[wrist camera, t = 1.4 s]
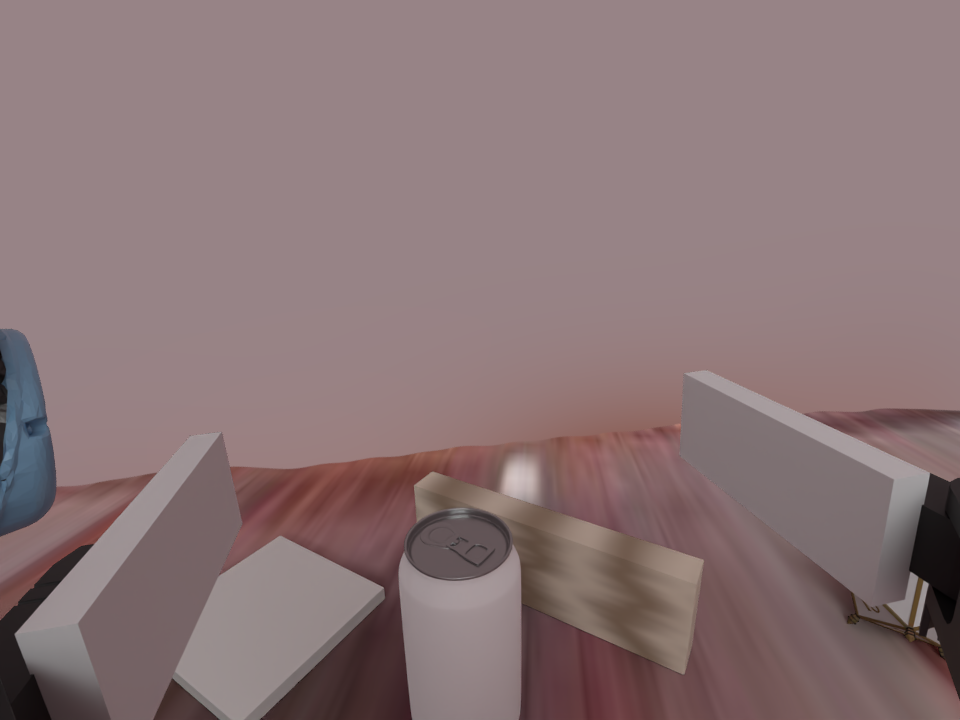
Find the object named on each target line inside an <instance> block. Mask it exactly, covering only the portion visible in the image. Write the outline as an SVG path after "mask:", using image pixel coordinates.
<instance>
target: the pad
mask: <svg viewBox="0 0 960 720" xmlns="http://www.w3.org/2000/svg"><path fill="white" fill-rule="evenodd" d="M384 599H385V593H384V587H382V586H380V585H378V584H376V583H374V582H372V581H370V580H368V579H366V578H364V577H362V576H360V575H358V574H356V573H354V572H352V571H350V570H348V569H346V568H344V567H342V566H340V565H338V564H336V563H334V562H332V561H330V560H328V559H326V558H324V557H322V556H320V555H318V554H316V553H314V552H312V551H310V550H308V549H306V548H304V547H302V546H300V545H298V544H296V543H294V542H292V541H290V540H288V539H286V538H284V537H282V536H279V537H277V538H276V539H274V540H273V541H271V542H270V543H268V544H267V545H265V546H264V547H262V548H261V549H259V550H258V551H256V552H255V553H253V554H252V555H250V556H249V557H247V558H246V559H244V560H243V561H241V562H240V563H238V564H237V565H235V566H233V567H232V568H230V569H229V570H227V571H226V572H224V573H223V574H221V575H220V576H218V578H217V580H216V583H215V585H214V587H213V589H212V591H211V594H210V596H209V598H208V600H207V602H206V605H205V607H204V609H203V611H202V613H201V615H200V618H199V620H198V622H197V624H196V626H195V629H194V631H193V633H192V635H191V637H190V640H189V642H188V644H187V646H186V648H185V651H184V653H183V655H182V657H181V659H180V661H179V664H178V666H177V668H176V670H175V672H174V675H173V677H172V678H173V679H174V680H175V681H176V682H177V683H178V684H180V685H181V686H182V687H183V688H184V689H185V690H186V691H188V692H189V693H190V694H191V695H192V696H193V697H194V698H196V699H197V700H198V701H199V702H200V703H201V704H203V705H204V706H205V707H206V708H207V709H208V710H209V711H211V712H212V713H213V714H214V715H215V716H216V717H218V718H219V719H220V720H260V719H261V718H262V717H263V716H264V715H265V714H266V713H267V712H268V711H269V710H270V709H271V708H272V707H273V706H274V705H275V704H276V703H277V702H279V701H280V700H281V699H282V698H283V697H284V696H285V695H286V694H287V693H288V692H289V691H290V690H291V689H292V688H293V687H294V686H295V685H296V684H297V683H298V682H299V681H300V680H301V679H302V678H303V677H304V676H305V675H306V674H307V673H308V672H310V671H311V670H312V669H313V668H314V667H315V666H316V665H317V664H318V663H319V662H320V661H321V660H322V659H323V658H324V657H325V656H326V655H327V654H328V653H329V652H330V651H331V650H332V649H333V648H334V647H335V646H336V645H337V644H338V643H340V642H341V641H342V640H343V639H344V638H345V637H346V636H347V635H348V634H349V633H350V632H351V631H352V630H353V629H354V628H355V627H356V626H357V625H358V624H359V623H360V622H361V621H362V620H363V619H364V618H365V617H366V616H367V615H368V614H369V613H371V612H372V611H373V610H374V609H375V608H376V607H377V606H378V605H379V604H380V603H381V602H382V601H383V600H384Z"/></svg>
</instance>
